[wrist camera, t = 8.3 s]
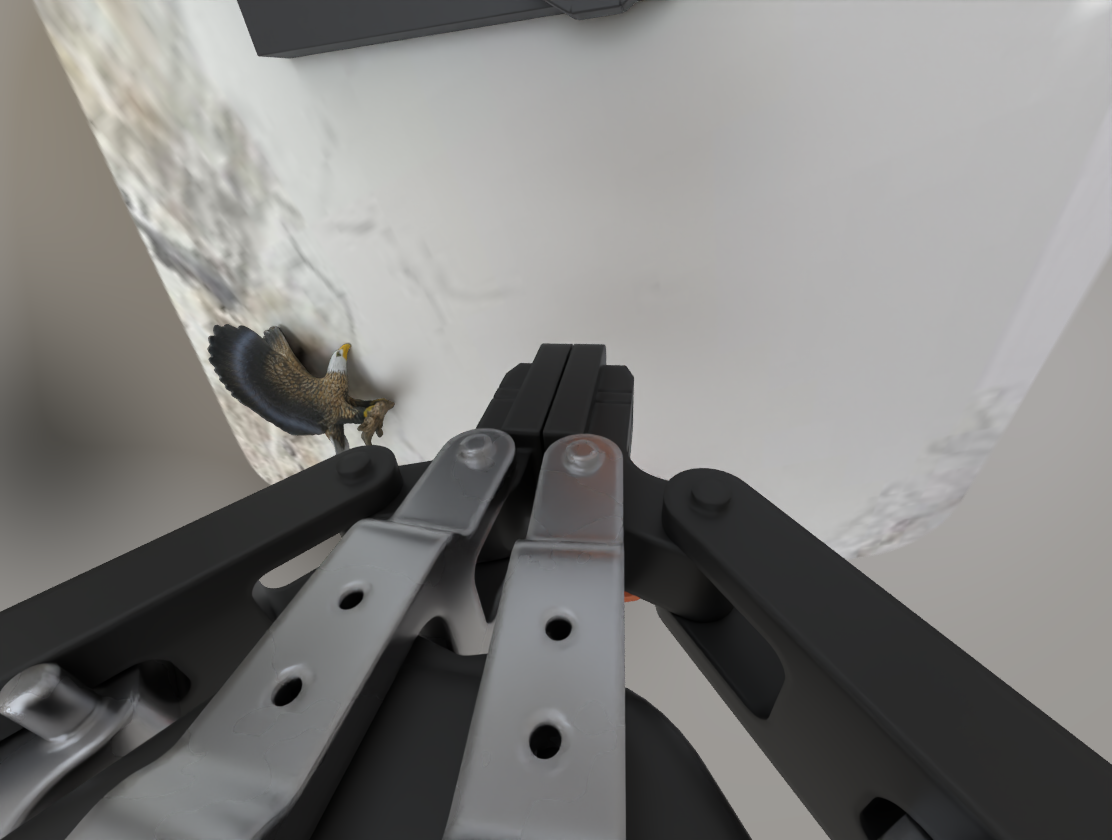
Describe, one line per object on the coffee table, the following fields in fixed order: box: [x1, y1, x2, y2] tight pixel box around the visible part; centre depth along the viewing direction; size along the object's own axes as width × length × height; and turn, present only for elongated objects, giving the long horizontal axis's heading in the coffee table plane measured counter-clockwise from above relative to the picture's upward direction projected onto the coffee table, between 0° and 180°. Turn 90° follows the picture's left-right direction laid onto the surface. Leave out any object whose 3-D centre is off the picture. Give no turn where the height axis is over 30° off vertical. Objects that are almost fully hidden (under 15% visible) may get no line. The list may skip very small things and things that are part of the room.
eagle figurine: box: [207, 324, 395, 455], centre depth 27 cm, size 8×7×9 cm
